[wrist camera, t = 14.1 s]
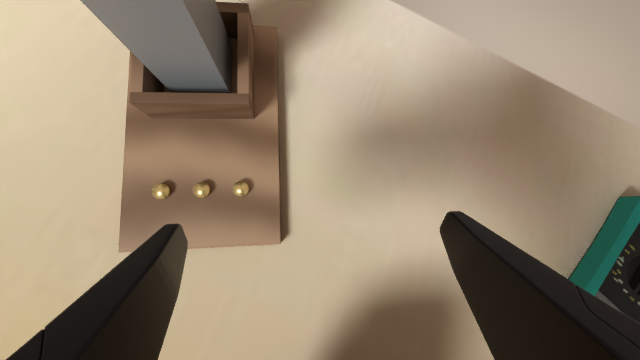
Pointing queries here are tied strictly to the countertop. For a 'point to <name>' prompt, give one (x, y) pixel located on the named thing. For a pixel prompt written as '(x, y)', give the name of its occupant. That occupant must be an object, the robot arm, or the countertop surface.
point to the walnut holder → (206, 149)
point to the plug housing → (173, 40)
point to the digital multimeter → (615, 260)
